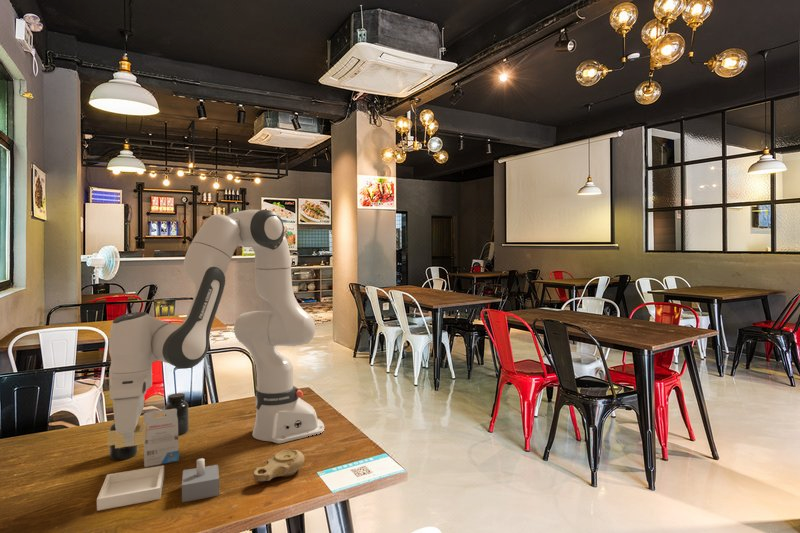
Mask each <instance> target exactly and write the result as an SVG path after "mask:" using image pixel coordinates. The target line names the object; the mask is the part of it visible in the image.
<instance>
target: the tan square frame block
mask: <svg viewBox="0 0 800 533" xmlns="http://www.w3.org/2000/svg"><path fill="white" fill-rule="evenodd" d="M106 438H107V439H106V440H107V441H106V445H107V446H106V447H110V445H115V448H121V447H128V446H126V445H125V438H124V435H123V433H117V431H116V430H115V431H110V430H109V431H107V433H106ZM146 438H147V423H145V424H143V423H138V424H137V426H136V428H135V431H134V443H133V445H129V446H135V445H138V446H142V445H144V444H145V441H146Z"/></svg>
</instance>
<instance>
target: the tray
mask: <svg viewBox="0 0 800 533" xmlns="http://www.w3.org/2000/svg"><path fill="white" fill-rule="evenodd" d="M164 480H165V465H163V464H162V465H156V466H149V467H144V468H139V469H133V470H127V471H121V472H115V473H107V474H106V476H105V479H104V482H103V484H102V485H101V489H100V490H99V493H98V496H97V498H96V511H103V510H109V509H113V508H119V507H124V506H129V505H135V504H140V503H146V502H150V501H156V500H160V499H162V490H163V486H164V485H163V484H164Z"/></svg>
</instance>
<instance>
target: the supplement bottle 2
mask: <svg viewBox="0 0 800 533" xmlns="http://www.w3.org/2000/svg"><path fill="white" fill-rule="evenodd" d="M167 398H168V399H167V404H166V405H165V406H164V410H169V409H177V418H178V436H181V435H184V434H186V433H187V432H189V429H190V428H189V427H190V426H189V424H190V423H189V422H190V421H189V415H190V414H189V404H188V402H187V401H186V394H185V393H183V392H182V393H181V392H176V393H171V394H169V395H168V397H167ZM164 416H166V414H164Z"/></svg>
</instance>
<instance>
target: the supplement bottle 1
mask: <svg viewBox="0 0 800 533" xmlns="http://www.w3.org/2000/svg"><path fill="white" fill-rule="evenodd" d="M115 430H116V428H115V421H114V420H113V423H112V424H111V425H110V427H109V431H115ZM138 446H139V445H135V446H128V447H121V448H115V445H110V446H109V458H110V459H112V460H114V461H122V460H127V459H130V458H133V457H135V456H136V455H137V453H138V450H139V449H138V448H139V447H138Z"/></svg>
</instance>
